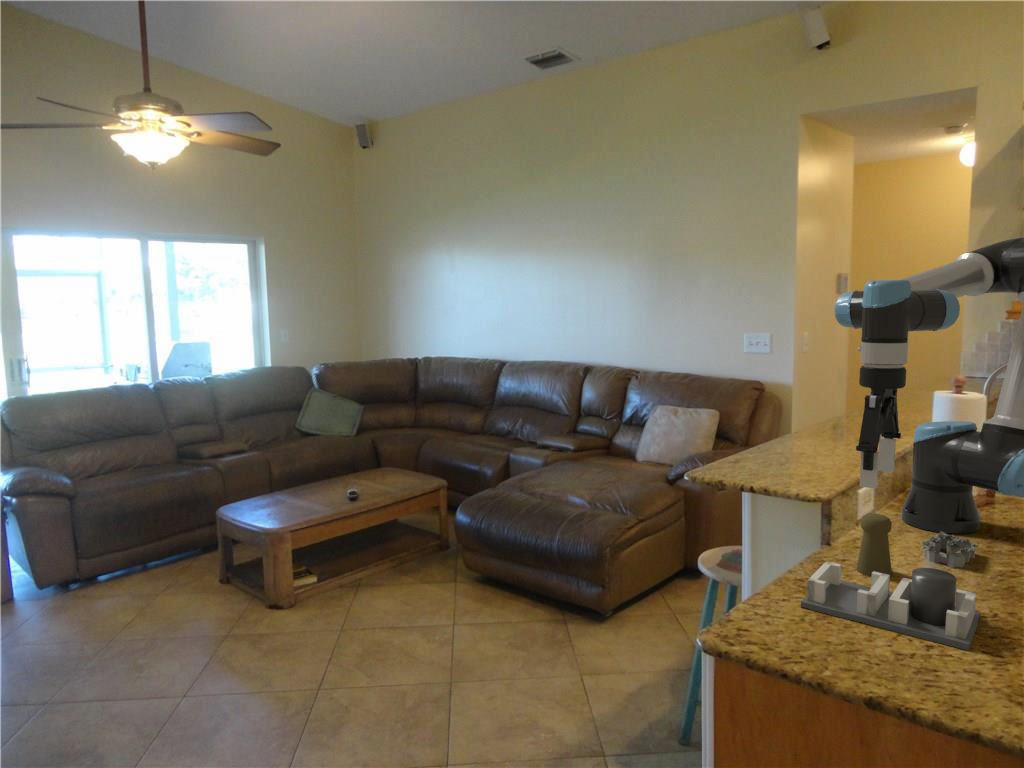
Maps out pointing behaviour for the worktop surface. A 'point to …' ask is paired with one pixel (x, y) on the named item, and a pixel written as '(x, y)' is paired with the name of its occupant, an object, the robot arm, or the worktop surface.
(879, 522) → the cork
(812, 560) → the worktop surface
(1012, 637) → the worktop surface
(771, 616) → the worktop surface
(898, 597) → the socket board
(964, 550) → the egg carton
